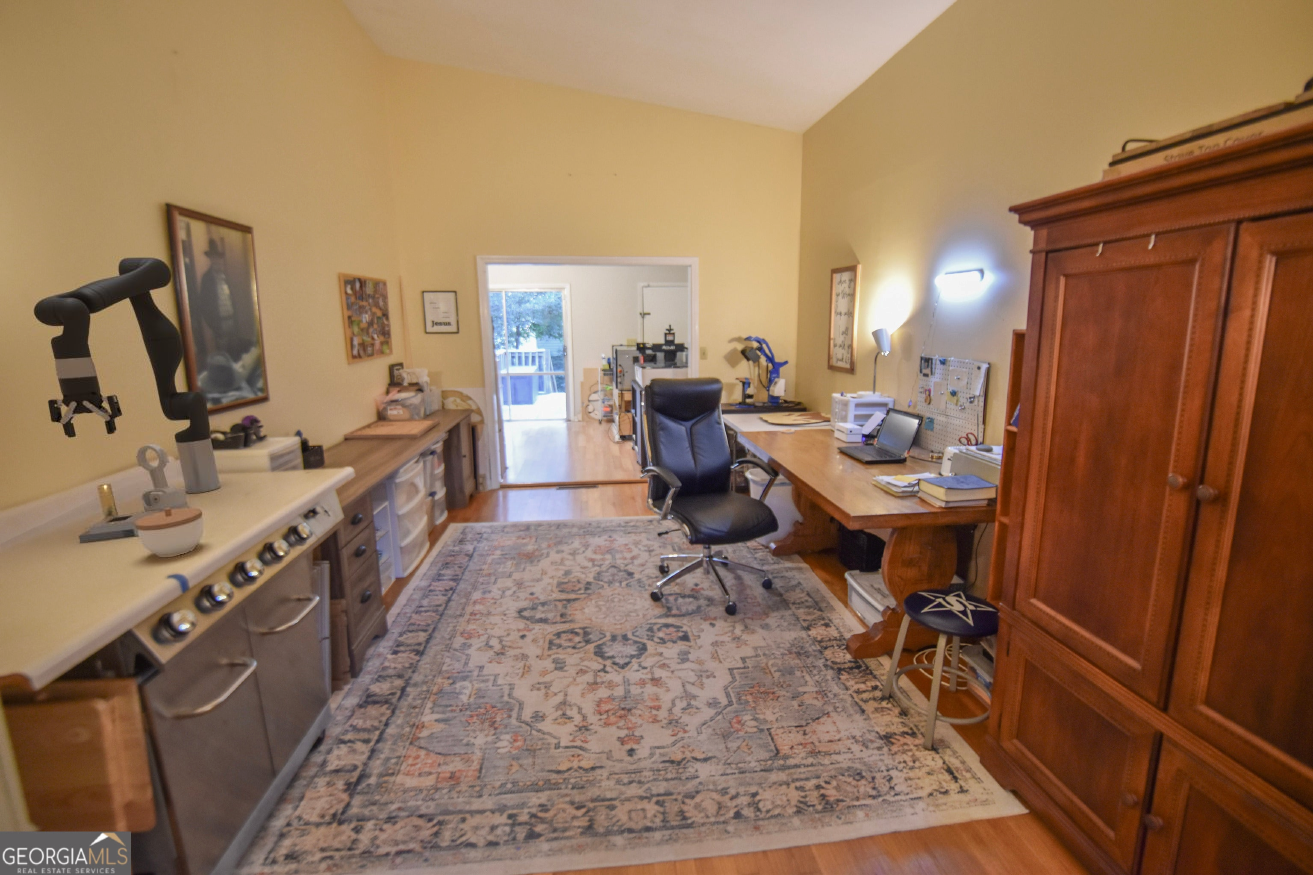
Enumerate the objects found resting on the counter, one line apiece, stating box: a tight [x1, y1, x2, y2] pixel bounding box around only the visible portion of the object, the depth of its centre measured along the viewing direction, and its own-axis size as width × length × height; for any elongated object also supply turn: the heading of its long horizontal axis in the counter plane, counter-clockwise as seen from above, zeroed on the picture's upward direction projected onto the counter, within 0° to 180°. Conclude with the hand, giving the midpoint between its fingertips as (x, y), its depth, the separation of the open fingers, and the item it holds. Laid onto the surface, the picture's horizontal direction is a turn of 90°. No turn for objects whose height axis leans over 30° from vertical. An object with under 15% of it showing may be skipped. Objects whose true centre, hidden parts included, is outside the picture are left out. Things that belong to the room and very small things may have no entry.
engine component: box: [135, 443, 189, 512], centre depth 176 cm, size 11×20×10 cm
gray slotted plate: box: [78, 507, 185, 544], centre depth 160 cm, size 9×20×4 cm, turn 109°
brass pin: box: [96, 483, 119, 518], centre depth 164 cm, size 3×3×12 cm
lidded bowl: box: [135, 507, 204, 558], centre depth 143 cm, size 13×13×11 cm
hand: (91, 435), depth 160 cm, fingers open, 8 cm apart
